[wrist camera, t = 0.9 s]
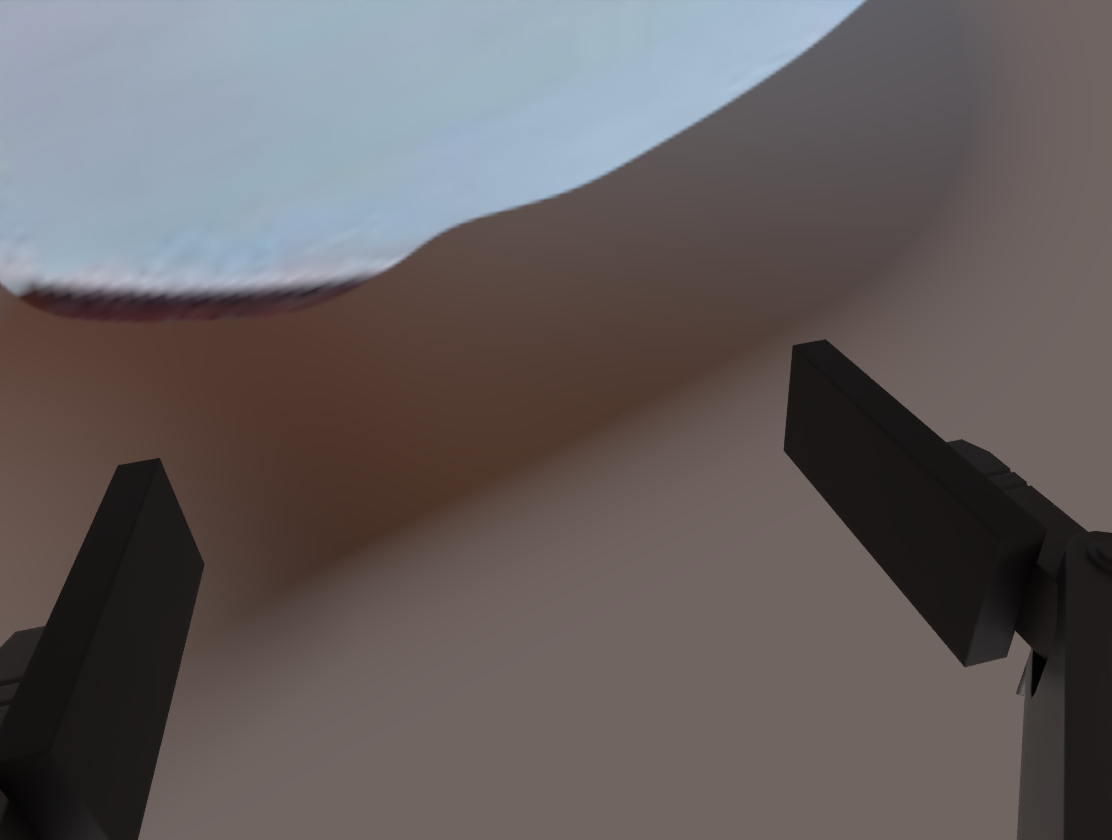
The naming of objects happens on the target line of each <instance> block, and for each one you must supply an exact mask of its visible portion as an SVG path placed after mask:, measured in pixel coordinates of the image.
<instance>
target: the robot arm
mask: <svg viewBox="0 0 1112 840" xmlns="http://www.w3.org/2000/svg"><path fill="white" fill-rule="evenodd" d="M784 451H785V453H786V454H787V455H788V456H789V457H790V459H791V460H792V461H793V462H794V463H795V465H796V466H797V467H798V468H799V469H800V470H801V472H802V473H803V474H804V475H805V477H806V478H807V479H808V480H809V481H810V482H811V484H812V485H813V486H814V487H815V488H816V490H817V491H818V492H819V493H820V494H821V495H822V497H823V498H824V499H825V500H826V502H827V503H828V504H829V505H830V506H831V507H832V509H833V510H834V511H835V512H836V514H837V515H838V516H839V517H840V518H841V520H842V521H843V522H844V523H845V524H846V526H847V527H848V528H849V529H850V530H851V532H852V533H853V534H854V535H855V536H856V538H857V539H858V540H859V541H860V542H861V544H862V545H863V546H864V547H865V548H866V550H867V551H868V552H869V553H870V554H871V555H872V556H873V558H874V559H875V560H876V561H877V563H878V564H879V565H880V566H881V567H882V569H883V570H884V571H885V572H886V573H887V575H888V576H889V577H890V578H891V579H892V581H893V582H894V583H895V584H896V585H897V586H898V588H899V589H900V590H901V591H902V593H903V594H904V595H905V596H906V597H907V599H908V600H909V601H910V602H911V603H912V605H913V606H914V607H915V608H916V609H917V610H918V612H919V613H920V614H921V615H922V617H923V618H924V619H925V620H926V621H927V622H928V624H929V625H930V626H931V627H932V629H933V630H934V631H935V632H936V633H937V635H938V636H939V637H940V638H941V639H942V640H943V642H944V643H945V644H946V645H947V647H948V648H949V649H950V650H951V651H952V652H953V654H954V655H955V656H956V657H957V658H958V660H959V661H960V662H961V663H962V664H963V666H964V667H968V666H972V665H976V664H980V663H984V662H988V661H992V660H996V659H1000V658H1005V657H1007V654H1008V651H1009V648H1010V645H1011V641H1012V638H1013V635H1014V632H1015V631H1016V632H1017V633H1018V634H1019V635H1020V636H1021V637H1022V638H1023V639H1024V640H1025V641H1026V642H1027V643H1028V644H1029V645H1030V647H1031V651H1030V654H1029V657H1028V660H1027V663H1026V666H1025V669H1024V672H1023V675H1022V678H1021V680H1020V684H1019V686H1018V689H1017V692H1016V694H1018V695H1021V696H1024V694H1025V702H1024V719H1023V738H1022V756H1021V774H1020V792H1019V812H1018V829H1017V840H1112V533H1108V532H1099V531H1092V532H1088V531H1086V530H1085V529H1084V528H1083V527H1081V526H1080V525H1079V524H1078V523H1076V522H1075V521H1074V520H1073V519H1071V518H1070V517H1069V516H1068V515H1067V514H1065V513H1064V512H1063V511H1062V510H1060V509H1059V508H1058V507H1057V506H1056V505H1054V504H1053V503H1052V502H1051V501H1049V500H1048V499H1047V498H1046V497H1044V496H1043V495H1042V494H1041V493H1039V492H1038V491H1037V490H1036V489H1035V488H1033V487H1032V486H1028V485H1027V482H1026V481H1025V480H1023V479H1022V478H1021V477H1020V476H1018V475H1017V474H1016V473H1015V472H1012V473H1011V471H1010V468H1009V467H1007V466H1006V465H1005V464H1003V463H1002V462H1001V461H1000V460H999V459H998V458H996V457H995V456H994V455H993V454H991V453H990V452H988V451H986V450H984V449H982V448H979V447H977V446H975V445H973V444H971V443H968V442H966V441H964V440H962V439H961V440H956V441H951V442H945V441H944V440H943V439H941V438H940V437H939V436H938V435H937V434H936V433H935V432H933V431H932V430H931V429H930V428H929V427H928V426H926V425H925V424H924V423H923V422H922V421H921V420H919V419H918V418H917V417H916V416H915V415H913V414H912V413H911V412H910V411H909V410H908V409H907V408H905V407H904V406H903V405H902V404H901V403H899V402H898V401H897V400H896V399H895V398H894V397H892V396H891V395H890V394H889V393H888V392H887V391H885V390H884V389H883V388H882V387H881V386H880V385H878V384H877V383H876V382H875V381H874V380H873V379H871V378H870V377H869V376H868V375H867V374H866V373H864V372H863V371H862V370H861V369H859V367H857V366H856V365H855V364H854V363H853V362H851V361H850V360H849V359H848V358H847V357H846V356H844V355H843V354H842V353H841V352H840V351H838V350H837V349H836V348H835V347H834V346H833V345H832V344H830V343H829V342H828V341H827V340H820V341H814V342H809V343H803V344H798V345H793V350H792V360H791V372H790V383H789V395H788V406H787V418H786V429H785V441H784ZM203 568H204V562H203V560H202V557H201V555H200V553H199V550H198V548H197V546H196V543H195V541H194V538H193V536H192V534H191V532H190V529H189V527H188V524H187V522H186V520H185V517H184V515H183V512H182V510H181V508H180V505H179V503H178V501H177V498H176V496H175V493H174V491H173V489H172V486H171V484H170V481H169V479H168V477H167V474H166V472H165V470H164V467H163V465H162V463H161V460H160V458H156V459H151V460H145V461H139V462H134V463H128V464H123V465H118V467H117V469H116V471H115V473H114V475H113V478H112V480H111V482H110V484H109V486H108V489H107V491H106V493H105V495H104V498H103V500H102V502H101V504H100V506H99V509H98V511H97V513H96V515H95V517H94V520H93V522H92V524H91V526H90V529H89V531H88V533H87V535H86V538H85V540H84V542H83V544H82V546H81V548H80V551H79V553H78V555H77V557H76V560H75V562H74V564H73V566H72V568H71V571H70V573H69V575H68V577H67V580H66V582H65V584H64V586H63V588H62V591H61V593H60V595H59V597H58V599H57V602H56V604H55V606H54V608H53V611H52V613H51V615H50V617H49V620H48V622H47V624H46V626H42V627H37V628H33V629H27V630H22V631H17V632H15V633H14V634H13V635H12V636H11V637H10V638H9V639H8V640H7V641H6V642H5V643H4V644H3V645H2V646H1V647H0V840H138V837H139V833H140V828H141V825H142V820H143V816H144V812H145V808H146V804H147V800H148V796H149V791H150V787H151V783H152V779H153V775H154V771H155V766H156V763H157V758H158V754H159V750H160V746H161V742H162V738H163V734H164V730H165V725H166V721H167V717H168V713H169V709H170V705H171V701H172V696H173V692H174V688H175V684H176V679H177V676H178V672H179V667H180V663H181V659H182V655H183V651H184V647H185V643H186V639H187V634H188V630H189V626H190V622H191V618H192V614H193V609H194V605H195V601H196V597H197V593H198V589H199V585H200V581H201V576H202V572H203Z"/></svg>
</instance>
